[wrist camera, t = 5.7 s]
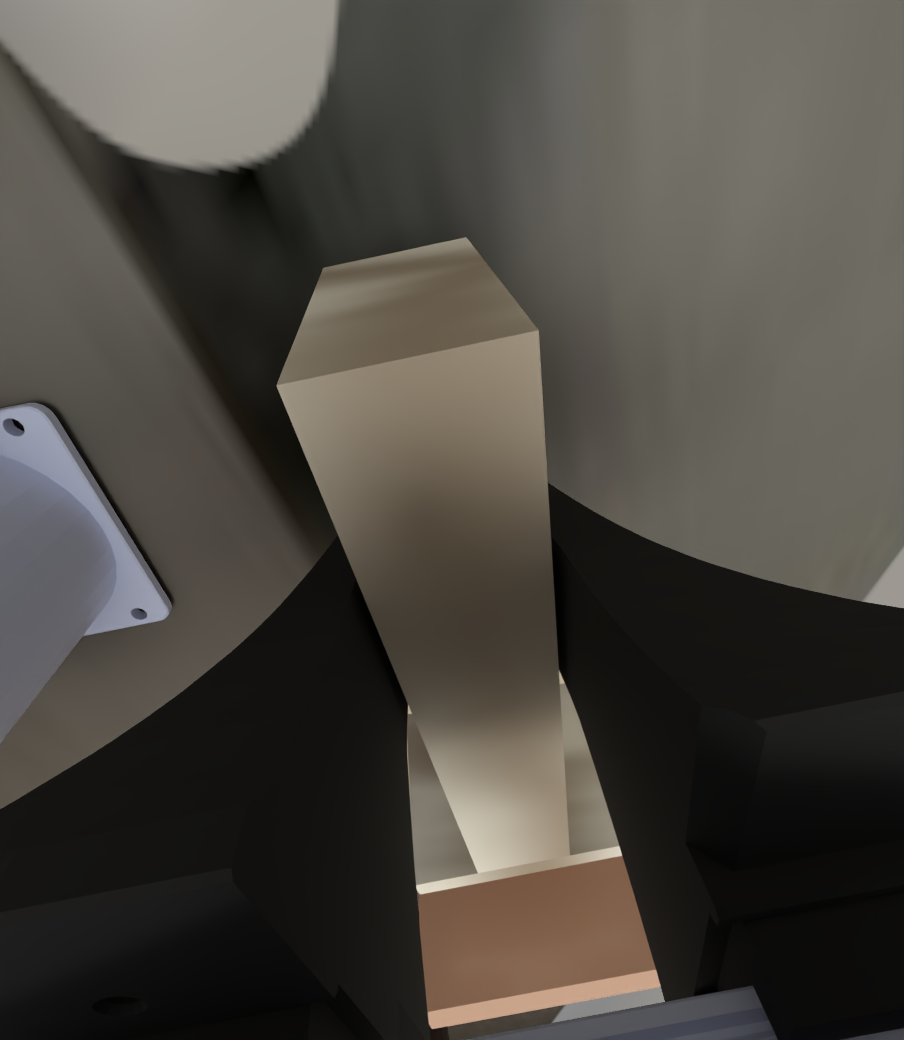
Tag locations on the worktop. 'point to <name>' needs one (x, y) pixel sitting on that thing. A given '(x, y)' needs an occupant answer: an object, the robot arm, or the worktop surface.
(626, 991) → the glazed tile
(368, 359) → the tall cream square post
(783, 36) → the worktop surface
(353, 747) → the robot arm
